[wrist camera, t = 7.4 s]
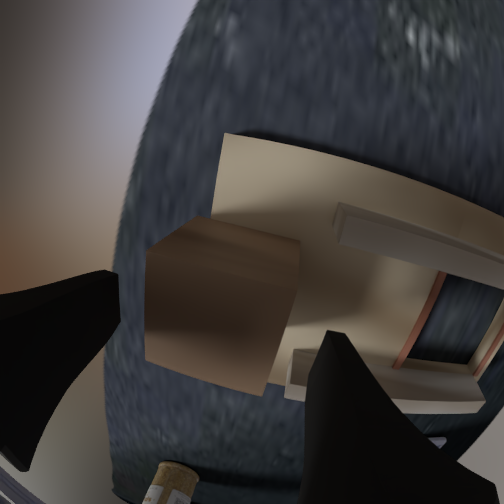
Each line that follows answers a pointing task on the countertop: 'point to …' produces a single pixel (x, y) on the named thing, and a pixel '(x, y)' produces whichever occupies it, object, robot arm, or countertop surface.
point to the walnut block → (219, 302)
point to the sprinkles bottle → (172, 484)
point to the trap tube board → (365, 264)
